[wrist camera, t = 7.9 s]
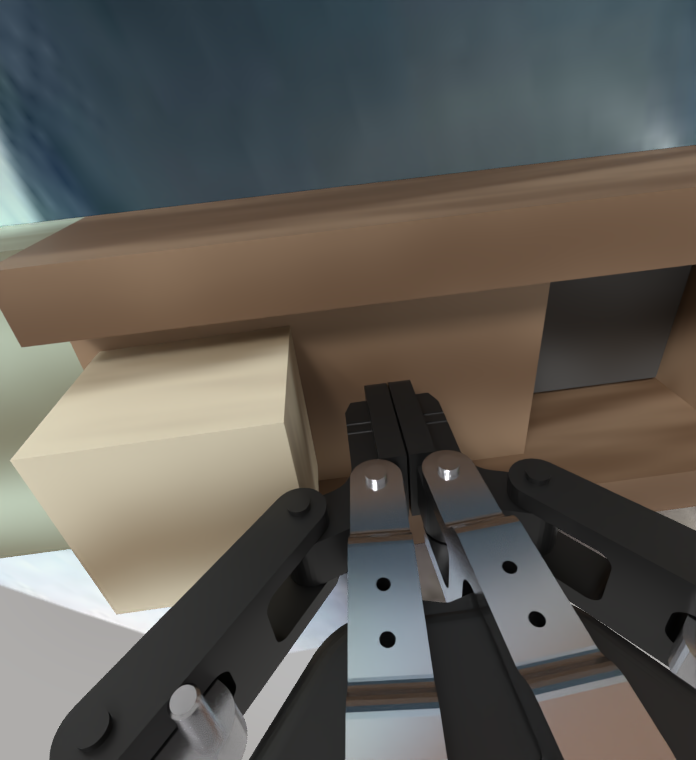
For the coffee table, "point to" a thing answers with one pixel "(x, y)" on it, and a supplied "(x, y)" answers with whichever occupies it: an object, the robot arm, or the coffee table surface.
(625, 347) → the channel deck
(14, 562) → the coffee table surface
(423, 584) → the coffee table surface
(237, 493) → the birch block
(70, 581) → the coffee table surface
